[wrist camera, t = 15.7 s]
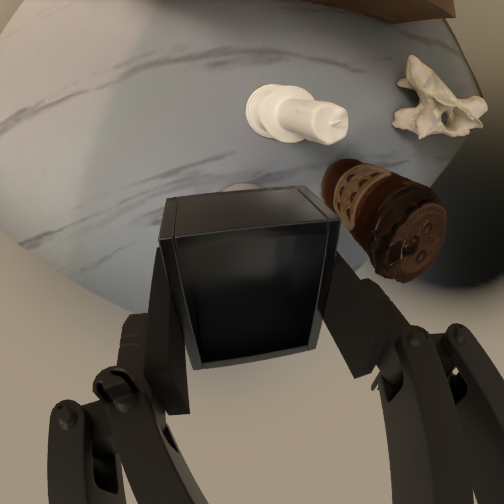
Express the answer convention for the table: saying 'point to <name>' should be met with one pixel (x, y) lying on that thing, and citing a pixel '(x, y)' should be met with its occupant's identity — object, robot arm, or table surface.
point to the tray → (248, 271)
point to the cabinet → (396, 9)
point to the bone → (436, 105)
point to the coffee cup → (387, 217)
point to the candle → (295, 115)
